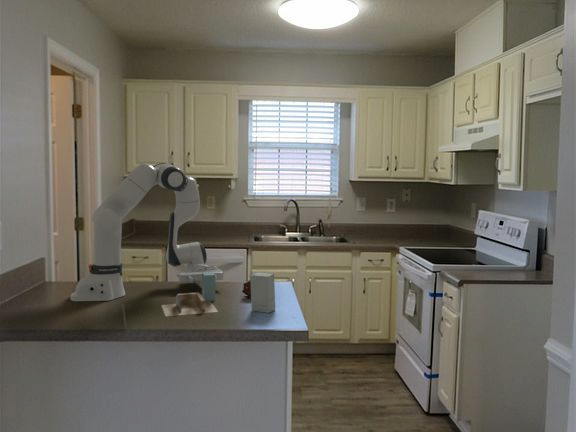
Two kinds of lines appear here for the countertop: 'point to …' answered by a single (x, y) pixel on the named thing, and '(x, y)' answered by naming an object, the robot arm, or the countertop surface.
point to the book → (208, 286)
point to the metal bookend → (178, 303)
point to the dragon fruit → (247, 288)
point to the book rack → (189, 305)
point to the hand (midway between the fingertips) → (203, 279)
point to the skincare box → (262, 292)
